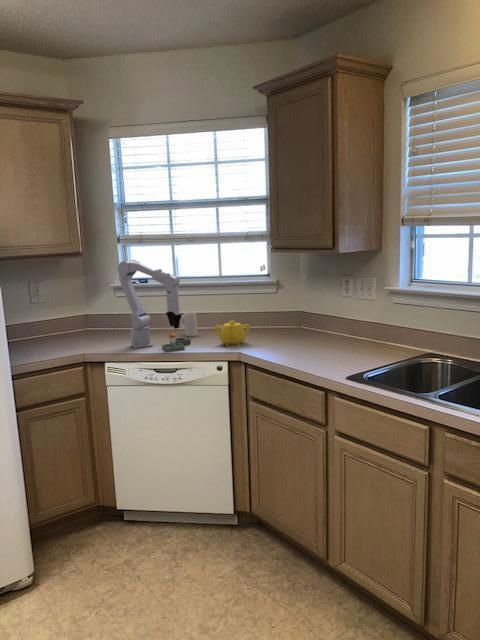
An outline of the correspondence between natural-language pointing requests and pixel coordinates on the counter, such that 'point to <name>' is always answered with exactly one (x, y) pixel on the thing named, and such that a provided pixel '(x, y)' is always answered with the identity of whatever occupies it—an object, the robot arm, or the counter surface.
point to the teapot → (232, 333)
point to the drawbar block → (183, 341)
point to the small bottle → (172, 340)
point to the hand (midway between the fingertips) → (174, 327)
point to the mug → (189, 324)
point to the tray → (178, 347)
